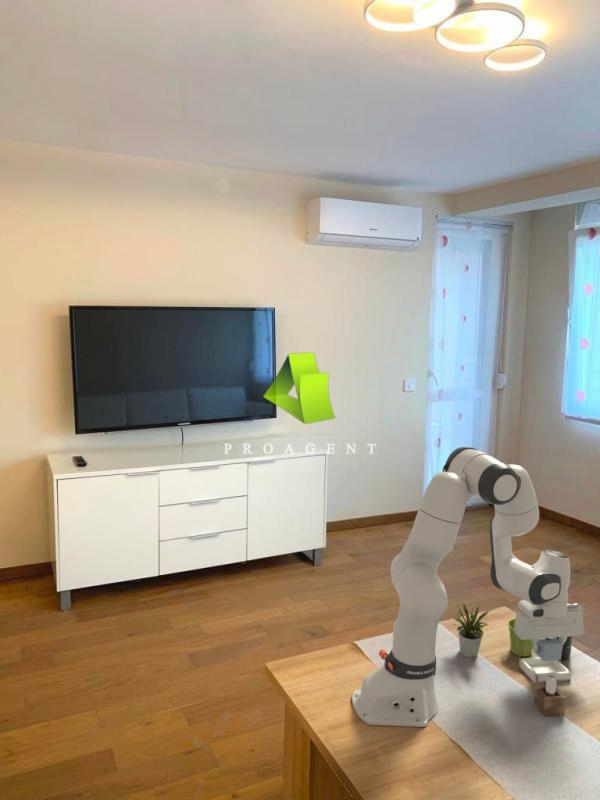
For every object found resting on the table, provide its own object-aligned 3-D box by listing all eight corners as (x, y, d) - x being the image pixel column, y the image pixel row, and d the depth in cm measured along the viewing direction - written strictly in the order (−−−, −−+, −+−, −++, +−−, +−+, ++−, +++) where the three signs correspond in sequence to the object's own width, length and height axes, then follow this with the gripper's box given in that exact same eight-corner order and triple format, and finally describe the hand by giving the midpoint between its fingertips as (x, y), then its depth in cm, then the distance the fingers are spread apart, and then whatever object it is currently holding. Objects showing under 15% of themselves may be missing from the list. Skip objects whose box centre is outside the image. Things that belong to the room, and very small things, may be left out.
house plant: (433, 654, 193) (436, 603, 191) (450, 636, 205) (453, 588, 203) (479, 670, 185) (483, 617, 183) (494, 650, 197) (498, 600, 195)
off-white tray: (535, 683, 179) (536, 675, 179) (518, 666, 188) (519, 658, 188) (570, 680, 182) (571, 672, 181) (552, 663, 190) (553, 655, 190)
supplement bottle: (572, 663, 191) (576, 625, 189) (548, 660, 192) (552, 622, 191) (567, 651, 198) (571, 615, 196) (544, 648, 199) (548, 612, 197)
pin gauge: (547, 712, 166) (550, 680, 165) (542, 707, 169) (545, 675, 168) (555, 712, 167) (558, 680, 166) (550, 706, 169) (553, 674, 168)
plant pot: (540, 650, 198) (542, 624, 197) (533, 663, 190) (535, 636, 189) (509, 641, 203) (511, 615, 202) (501, 653, 195) (504, 627, 194)
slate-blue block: (543, 661, 181) (544, 644, 180) (533, 651, 186) (534, 635, 186) (560, 659, 182) (562, 643, 181) (550, 649, 187) (551, 634, 187)
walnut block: (544, 716, 165) (546, 699, 164) (533, 704, 170) (535, 686, 169) (564, 715, 166) (565, 697, 165) (552, 702, 171) (553, 685, 170)
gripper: (577, 598, 187) (573, 642, 189) (513, 602, 183) (509, 647, 185) (590, 608, 181) (586, 653, 183) (524, 612, 177) (520, 658, 179)
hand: (547, 650), depth 184 cm, fingers closed on slate-blue block, 5 cm apart
